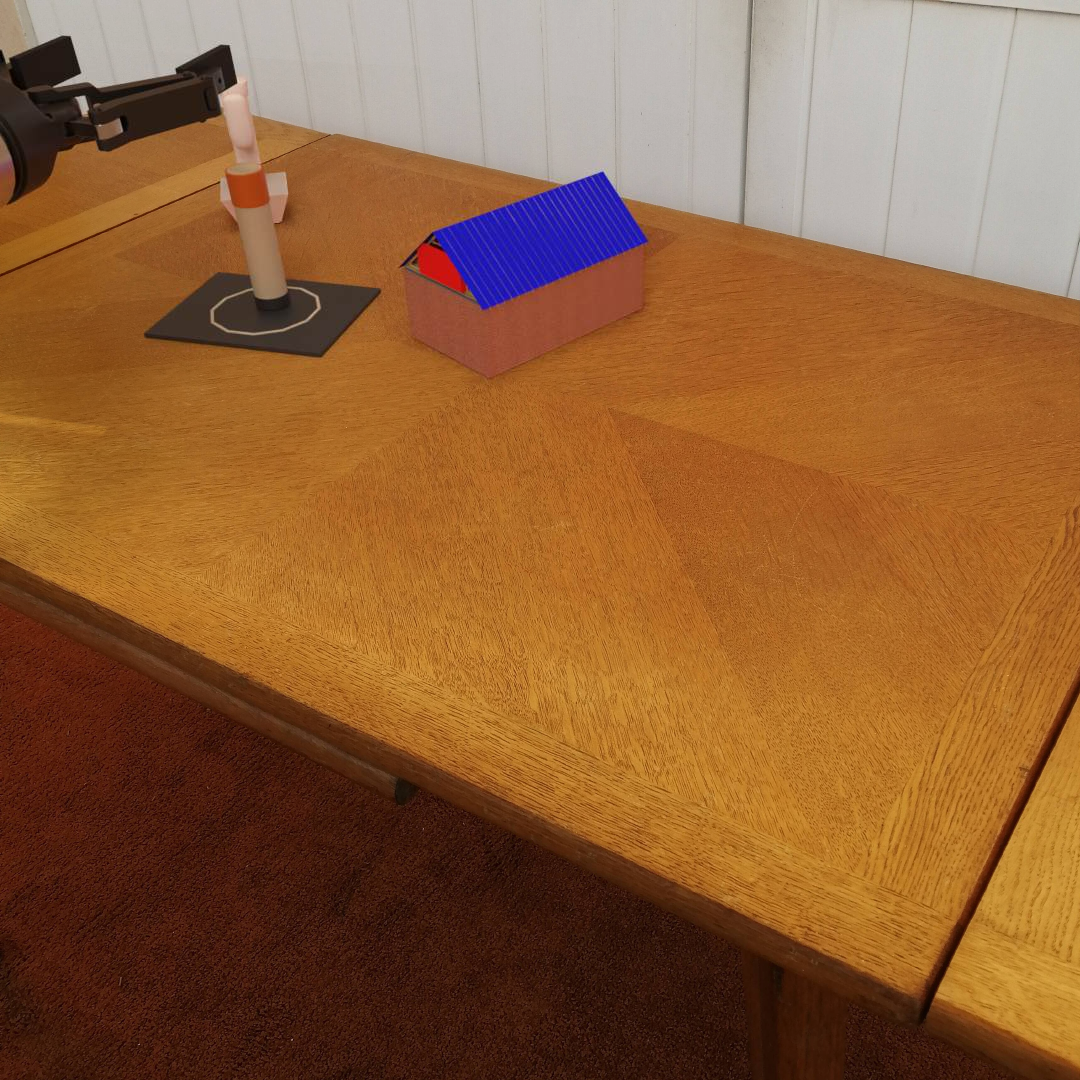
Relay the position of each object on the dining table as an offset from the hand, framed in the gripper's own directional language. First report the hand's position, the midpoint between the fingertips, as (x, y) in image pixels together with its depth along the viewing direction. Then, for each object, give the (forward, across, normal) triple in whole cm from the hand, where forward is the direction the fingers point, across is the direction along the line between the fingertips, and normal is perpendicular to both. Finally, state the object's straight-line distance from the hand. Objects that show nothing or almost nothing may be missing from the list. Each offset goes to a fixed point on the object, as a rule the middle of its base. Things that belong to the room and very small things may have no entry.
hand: (149, 59), depth 86 cm
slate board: (+8, 0, -25) cm, 26 cm away
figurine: (+30, -12, -25) cm, 41 cm away
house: (+12, +26, -25) cm, 38 cm away
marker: (+10, 0, -25) cm, 26 cm away
